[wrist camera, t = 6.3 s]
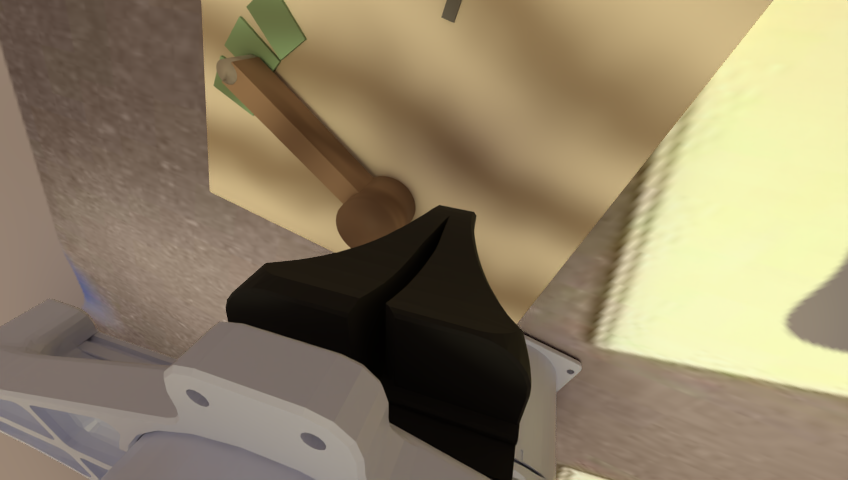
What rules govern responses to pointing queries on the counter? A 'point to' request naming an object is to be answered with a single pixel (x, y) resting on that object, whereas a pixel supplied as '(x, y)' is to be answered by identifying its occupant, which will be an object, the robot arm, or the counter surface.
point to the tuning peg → (320, 153)
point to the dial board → (467, 109)
